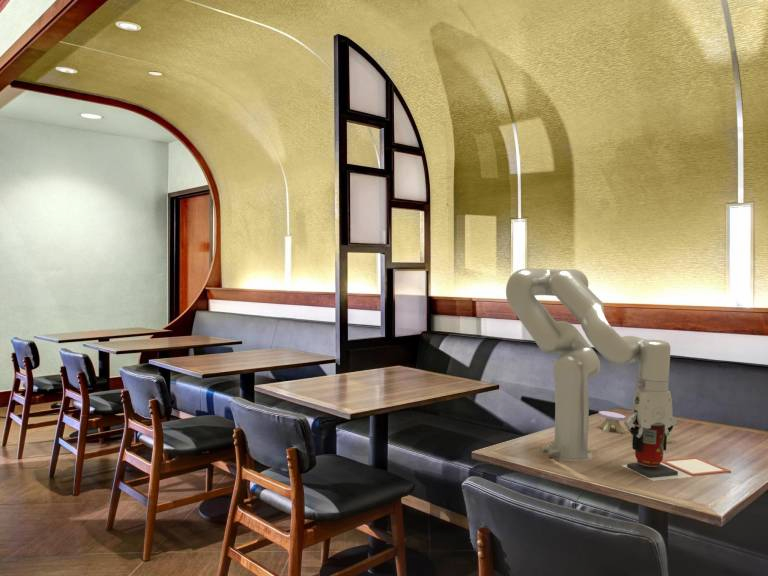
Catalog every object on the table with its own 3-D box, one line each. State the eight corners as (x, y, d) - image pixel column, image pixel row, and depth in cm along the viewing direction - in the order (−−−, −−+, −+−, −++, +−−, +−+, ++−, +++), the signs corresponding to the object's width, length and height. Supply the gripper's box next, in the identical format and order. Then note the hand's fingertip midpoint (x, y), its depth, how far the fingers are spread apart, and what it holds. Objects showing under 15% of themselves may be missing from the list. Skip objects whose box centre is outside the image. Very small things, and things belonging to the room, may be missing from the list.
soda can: (664, 469, 165) (667, 423, 164) (636, 465, 167) (639, 421, 166) (660, 460, 172) (662, 417, 171) (632, 457, 174) (635, 414, 173)
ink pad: (649, 478, 163) (649, 474, 163) (627, 467, 172) (627, 463, 172) (677, 475, 166) (677, 471, 166) (654, 464, 174) (654, 461, 174)
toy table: (591, 428, 218) (592, 411, 218) (611, 425, 222) (612, 409, 222) (611, 435, 209) (612, 418, 209) (632, 432, 213) (632, 416, 212)
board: (652, 485, 161) (652, 480, 161) (620, 469, 174) (621, 465, 174) (727, 477, 168) (727, 473, 168) (691, 462, 180) (691, 458, 180)
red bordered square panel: (692, 476, 165) (692, 474, 165) (659, 461, 177) (659, 460, 177) (730, 472, 168) (730, 470, 168) (695, 458, 180) (695, 456, 180)
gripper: (634, 389, 162) (631, 456, 163) (689, 387, 167) (685, 452, 168) (616, 383, 169) (613, 447, 170) (669, 381, 174) (665, 443, 175)
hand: (649, 449), depth 169 cm, fingers closed on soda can, 7 cm apart
